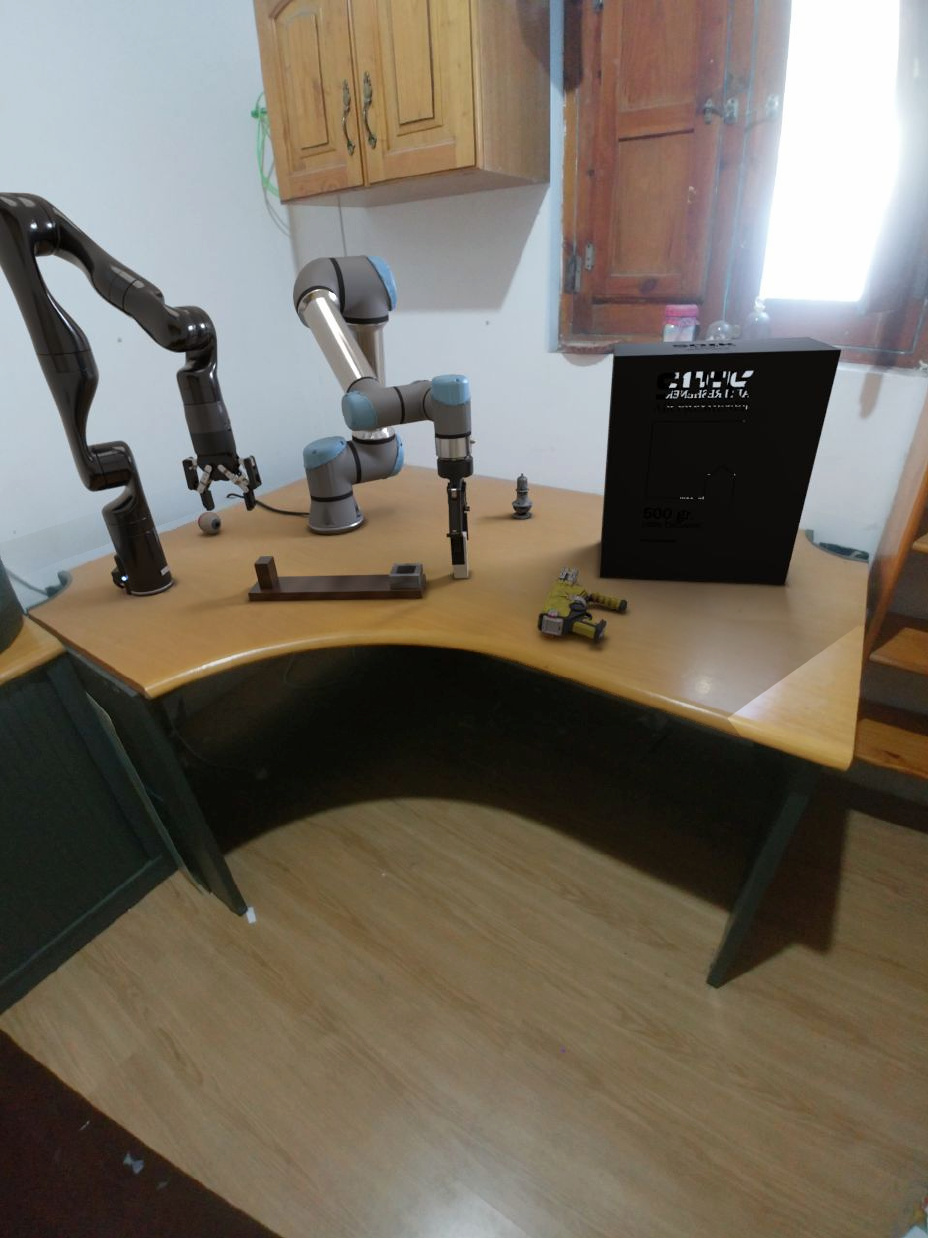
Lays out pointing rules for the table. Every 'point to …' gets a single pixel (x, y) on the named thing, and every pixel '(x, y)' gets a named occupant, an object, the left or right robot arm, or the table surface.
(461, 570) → the peg
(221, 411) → the left robot arm
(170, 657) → the table surface
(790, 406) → the cardboard box
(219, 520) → the eyeball
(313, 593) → the peg board
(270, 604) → the table surface
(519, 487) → the salt shaker
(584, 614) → the toy gun
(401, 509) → the table surface
